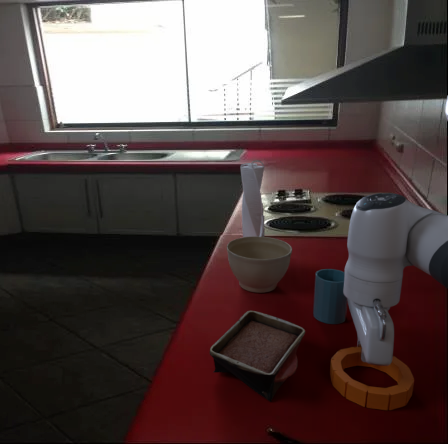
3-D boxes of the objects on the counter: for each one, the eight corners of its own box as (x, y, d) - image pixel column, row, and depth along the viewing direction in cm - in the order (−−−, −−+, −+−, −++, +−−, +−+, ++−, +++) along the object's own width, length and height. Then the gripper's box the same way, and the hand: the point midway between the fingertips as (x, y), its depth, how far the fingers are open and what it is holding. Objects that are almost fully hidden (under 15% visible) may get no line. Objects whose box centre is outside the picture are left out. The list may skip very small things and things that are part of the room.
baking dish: (312, 374, 78) (315, 323, 77) (266, 417, 65) (268, 357, 64) (245, 351, 88) (246, 306, 86) (193, 385, 75) (193, 332, 73)
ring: (399, 364, 76) (401, 350, 75) (420, 415, 65) (423, 399, 64) (326, 357, 79) (328, 343, 78) (335, 403, 68) (336, 388, 67)
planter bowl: (284, 304, 99) (286, 262, 96) (219, 294, 106) (218, 254, 103) (294, 276, 113) (296, 239, 110) (236, 269, 120) (236, 233, 116)
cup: (343, 309, 96) (346, 269, 92) (348, 325, 89) (351, 283, 86) (311, 307, 97) (314, 268, 94) (314, 322, 91) (317, 281, 88)
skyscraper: (266, 247, 134) (268, 160, 125) (240, 247, 135) (240, 161, 127) (264, 238, 142) (265, 156, 133) (240, 238, 143) (240, 157, 135)
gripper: (409, 320, 62) (398, 396, 66) (378, 264, 81) (371, 326, 85) (363, 316, 63) (355, 391, 68) (343, 262, 82) (338, 324, 86)
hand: (364, 354), depth 76 cm, fingers closed on ring
